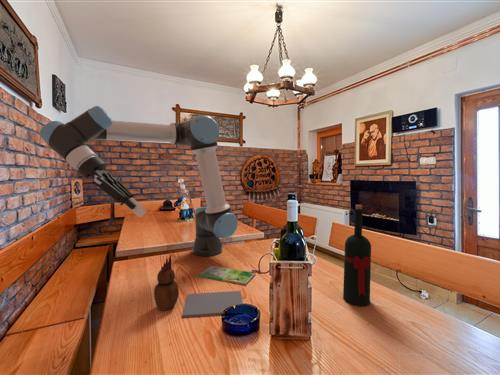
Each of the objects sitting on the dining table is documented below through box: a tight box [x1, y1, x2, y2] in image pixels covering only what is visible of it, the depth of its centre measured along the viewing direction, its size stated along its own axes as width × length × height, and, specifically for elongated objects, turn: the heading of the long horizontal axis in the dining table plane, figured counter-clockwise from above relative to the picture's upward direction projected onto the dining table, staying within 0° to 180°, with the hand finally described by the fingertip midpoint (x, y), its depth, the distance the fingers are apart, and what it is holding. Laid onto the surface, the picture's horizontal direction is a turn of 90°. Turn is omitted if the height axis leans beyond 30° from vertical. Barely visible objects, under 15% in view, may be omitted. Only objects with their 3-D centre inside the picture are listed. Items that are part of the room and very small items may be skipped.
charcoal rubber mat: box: [182, 290, 244, 318], centre depth 74 cm, size 17×12×1 cm
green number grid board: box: [198, 265, 257, 286], centre depth 94 cm, size 20×1×10 cm
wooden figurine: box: [153, 254, 180, 311], centre depth 72 cm, size 7×6×15 cm
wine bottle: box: [342, 204, 372, 307], centre depth 74 cm, size 8×10×30 cm
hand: (143, 214), depth 80 cm, fingers closed
